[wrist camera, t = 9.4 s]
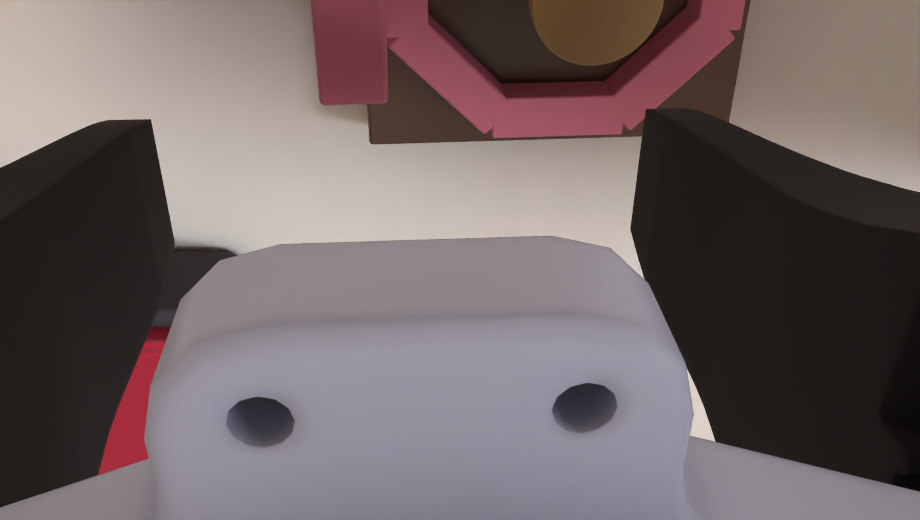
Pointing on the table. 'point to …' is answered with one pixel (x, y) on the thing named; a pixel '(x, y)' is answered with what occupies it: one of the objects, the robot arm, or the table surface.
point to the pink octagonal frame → (514, 104)
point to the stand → (544, 61)
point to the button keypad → (153, 361)
